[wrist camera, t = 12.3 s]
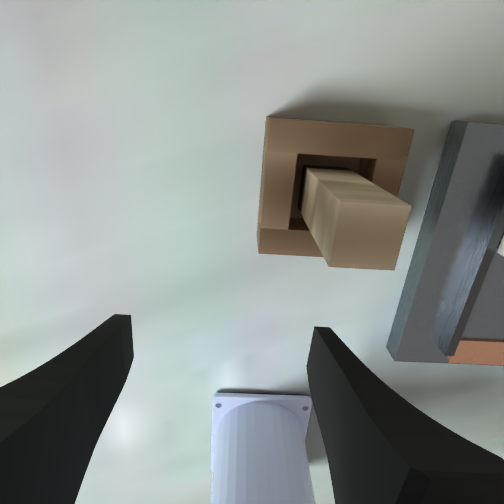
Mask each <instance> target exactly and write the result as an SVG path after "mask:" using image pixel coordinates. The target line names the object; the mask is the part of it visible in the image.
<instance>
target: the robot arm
mask: <svg viewBox="0 0 504 504" xmlns="http://www.w3.org/2000/svg"><path fill="white" fill-rule="evenodd" d="M133 358H134V353H133V339H132V324H131V315H120V314H114V315H113V316H112V317H110V318H109V319H107V320H106V321H105V322H103V323H102V324H101V325H100V326H98V327H97V328H96V329H94V330H93V331H92V332H90V333H89V334H87V335H86V336H85V337H83V338H82V339H81V340H79V341H78V342H76V343H75V344H74V345H72V346H71V347H69V348H68V349H66V350H65V351H63V352H62V353H60V354H59V355H57V356H56V357H54V358H53V359H51V360H49V361H48V362H46V363H45V364H43V365H41V366H40V367H38V368H36V369H34V370H33V371H31V372H29V373H27V374H25V375H24V376H22V377H20V378H18V379H16V380H14V381H12V382H10V383H8V384H6V385H4V386H2V387H0V504H75V501H76V498H77V495H78V492H79V489H80V487H81V484H82V481H83V478H84V475H85V472H86V470H87V467H88V464H89V462H90V459H91V456H92V453H93V451H94V448H95V446H96V443H97V441H98V439H99V437H100V434H101V432H102V430H103V428H104V426H105V424H106V422H107V420H108V418H109V416H110V414H111V412H112V410H113V407H114V405H115V403H116V401H117V399H118V397H119V395H120V393H121V391H122V389H123V386H124V384H125V382H126V379H127V376H128V374H129V371H130V367H131V364H132V361H133ZM307 374H308V381H309V388H310V393H311V397H312V399H311V398H310V397H309V396H297V395H269V394H241V393H216V394H214V395H213V400H212V435H211V472H212V473H213V475H212V486H211V497H210V504H315V498H314V492H313V487H312V481H311V476H310V470H309V464H308V459H307V453H306V447H305V438H306V433H307V428H308V423H309V418H310V413H311V408H312V400H313V404H314V408H315V412H316V415H317V419H318V423H319V426H320V430H321V434H322V437H323V441H324V444H325V449H326V453H327V457H328V463H329V468H330V474H331V480H332V486H333V492H334V498H335V504H504V460H503V459H502V458H501V457H499V456H497V455H495V454H493V453H491V452H489V451H488V450H486V449H484V448H482V447H480V446H478V445H476V444H474V443H472V442H470V441H468V440H466V439H465V438H463V437H461V436H459V435H458V434H456V433H454V432H453V431H451V430H449V429H448V428H446V427H444V426H443V425H441V424H440V423H438V422H436V421H435V420H433V419H432V418H430V417H429V416H427V415H426V414H424V413H423V412H421V411H420V410H419V409H417V408H416V407H414V406H413V405H411V404H410V403H409V402H407V401H406V400H405V399H403V398H402V397H401V396H400V395H398V394H397V393H396V392H395V391H393V390H392V389H391V388H390V387H388V386H387V385H386V384H385V383H384V382H383V381H381V380H380V379H379V378H378V377H377V376H376V375H375V374H374V373H373V372H372V371H371V370H370V369H368V368H367V367H366V366H365V365H364V364H363V363H362V362H361V361H360V360H359V359H358V358H357V356H356V355H355V354H354V353H353V352H352V351H351V350H350V349H349V348H348V347H347V346H346V345H345V344H344V343H343V341H342V340H341V339H340V338H339V337H338V336H337V335H336V334H335V333H334V332H333V330H332V329H331V328H330V327H314V331H313V337H312V342H311V347H310V352H309V357H308V362H307ZM217 403H220V404H217ZM304 406H306V407H304Z"/></svg>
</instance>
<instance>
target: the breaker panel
mask: <svg viewBox="0 0 504 504" xmlns="http://www.w3.org/2000/svg"><path fill="white" fill-rule="evenodd" d="M503 235H504V125H501V124H488V123H474V122H460V121H452V123H451V126H450V129H449V133H448V136H447V140H446V143H445V147H444V150H443V154H442V157H441V160H440V164H439V167H438V171H437V174H436V178H435V181H434V185H433V188H432V191H431V195H430V198H429V202H428V205H427V209H426V212H425V216H424V219H423V222H422V226H421V229H420V233H419V236H418V240H417V243H416V247H415V250H414V253H413V257H412V260H411V264H410V267H409V271H408V274H407V278H406V281H405V284H404V288H403V291H402V295H401V298H400V302H399V305H398V309H397V312H396V315H395V319H394V322H393V326H392V329H391V333H390V336H389V340H388V343H387V346H386V347H387V349H388V351H389V353H390V354H391V356H392V358H393V359H394V361H405V362H430V363H454V364H478V365H503V366H504V256H502V255H500V254H499V253H497V250H498V248H499V245H500V243H501V240H502V238H503Z"/></svg>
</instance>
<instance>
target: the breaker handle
mask: <svg viewBox="0 0 504 504" xmlns="http://www.w3.org/2000/svg"><path fill="white" fill-rule="evenodd" d="M497 253H499V254H500V255H502V256H504V235H503V238H502V240H501V243H500V245H499V248H498V250H497Z"/></svg>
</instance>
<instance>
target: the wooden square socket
mask: <svg viewBox="0 0 504 504" xmlns="http://www.w3.org/2000/svg"><path fill="white" fill-rule="evenodd" d="M413 132H414V129H409V128H401V127H394V126H383V125H370V124H356V123H343V122H329V121H316V120H302V119H289V118H275V117H266V125H265V138H264V150H263V163H262V176H261V188H260V201H259V213H258V226H257V242H258V253H260V254H278V255H296V256H314V257H323V255H322V253H321V251H320V249H319V247H318V245H317V243H316V241H315V240H314V238H313V236H312V234H311V232H310V230H309V228H308V226H307V224H306V222H305V221H304V219H303V217H302V215H301V213H300V211H299V209H298V200H299V192H300V185H301V177H302V169H303V165H316V166H331V167H346V168H348V169H350V170H352V171H353V172H355V173H357V174H358V175H360V176H362V177H363V178H365V179H367V180H368V181H370V182H372V183H374V184H375V185H377V186H379V187H380V188H382V189H384V190H385V191H387V192H389V193H390V194H392V195H394V196H396V197H397V196H398V192H399V188H400V184H401V180H402V176H403V172H404V168H405V164H406V160H407V156H408V152H409V148H410V144H411V140H412V136H413Z"/></svg>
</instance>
